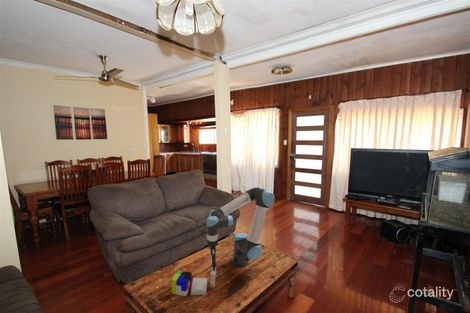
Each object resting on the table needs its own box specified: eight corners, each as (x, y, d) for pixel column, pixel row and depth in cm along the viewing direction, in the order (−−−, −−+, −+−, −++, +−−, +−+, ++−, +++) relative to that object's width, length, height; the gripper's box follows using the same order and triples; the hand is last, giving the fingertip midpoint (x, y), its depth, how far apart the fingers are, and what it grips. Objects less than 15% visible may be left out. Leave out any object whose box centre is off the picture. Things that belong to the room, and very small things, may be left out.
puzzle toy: (185, 296, 139) (185, 282, 138) (171, 293, 141) (171, 279, 140) (191, 285, 149) (191, 272, 148) (178, 283, 151) (178, 270, 150)
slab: (207, 282, 153) (207, 277, 153) (206, 294, 141) (206, 289, 141) (193, 282, 153) (193, 278, 152) (191, 295, 141) (191, 290, 140)
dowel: (209, 284, 150) (209, 271, 149) (215, 284, 151) (215, 271, 150) (210, 288, 147) (210, 275, 146) (215, 288, 147) (215, 274, 146)
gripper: (206, 231, 157) (207, 257, 159) (207, 249, 132) (208, 280, 135) (216, 230, 158) (217, 256, 160) (219, 248, 133) (220, 279, 136)
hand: (213, 267), depth 148 cm, fingers open, 13 cm apart
